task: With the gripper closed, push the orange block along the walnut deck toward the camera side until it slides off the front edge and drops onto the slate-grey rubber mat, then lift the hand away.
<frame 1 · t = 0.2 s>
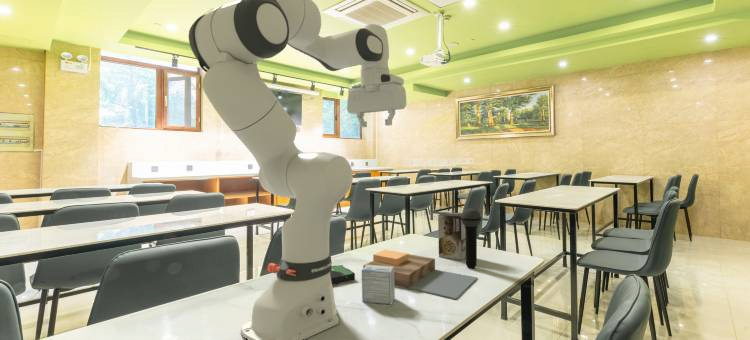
hand: (375, 126, 106), 47 cm above the table, tool pointing down, fingers open, 8 cm apart
disk drive: (326, 281, 106), on the table
mat: (444, 283, 101), on the table
orange block: (390, 260, 111), point 4 cm above the table, touching deck
microphone: (471, 268, 115), on the table
medicine box: (378, 301, 90), on the table
coffee box: (452, 257, 128), on the table
deck: (400, 274, 109), on the table
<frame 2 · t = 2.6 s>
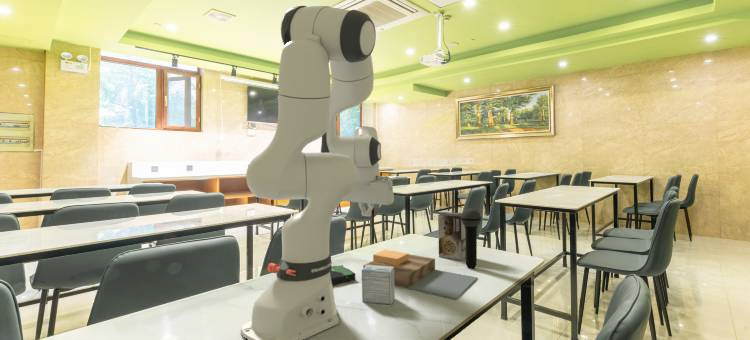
hand: (366, 216, 116), 18 cm above the table, tool pointing down, fingers closed
nothing on the table moved.
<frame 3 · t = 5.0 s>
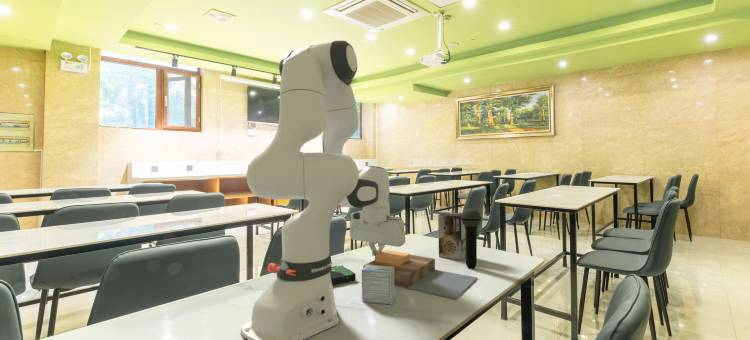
hand: (377, 255, 114), 5 cm above the table, tool pointing down, fingers closed
orange block: (392, 260, 111), point 4 cm above the table, touching gripper
everything else where it was.
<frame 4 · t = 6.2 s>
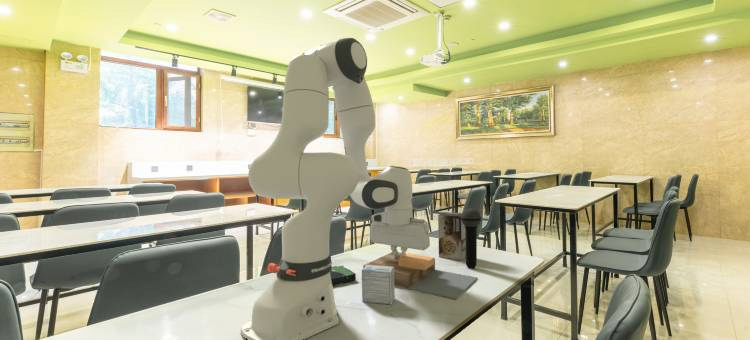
hand: (399, 259, 109), 5 cm above the table, tool pointing down, fingers closed
orange block: (416, 264, 106), point 4 cm above the table
everything else where it was.
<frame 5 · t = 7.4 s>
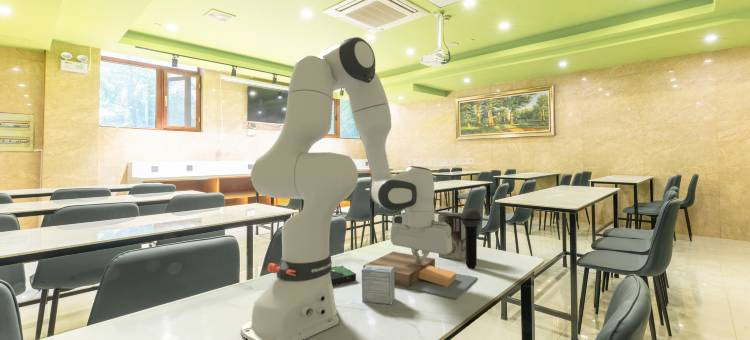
hand: (420, 263, 105), 5 cm above the table, tool pointing down, fingers closed
orange block: (437, 278, 103), point 1 cm above the table, tilted 6°
everything else where it was.
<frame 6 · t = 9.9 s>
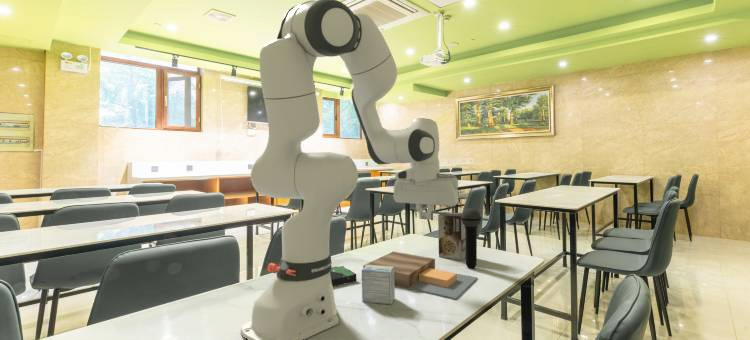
hand: (424, 219, 103), 19 cm above the table, tool pointing down, fingers closed
orange block: (437, 280, 102), resting on mat
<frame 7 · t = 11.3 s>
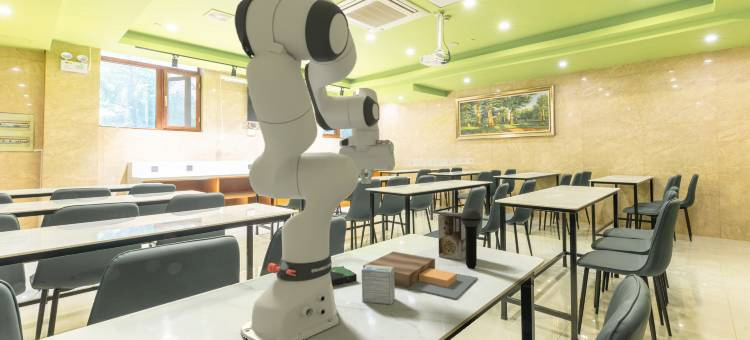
hand: (366, 183, 110), 29 cm above the table, tool pointing down, fingers closed
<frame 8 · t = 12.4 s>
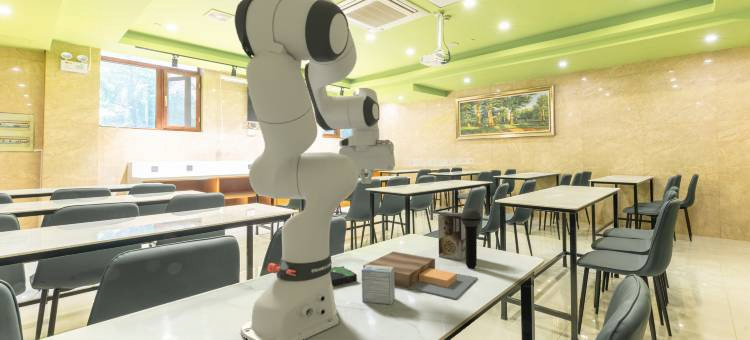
hand: (366, 183, 110), 29 cm above the table, tool pointing down, fingers closed
at the end: orange block inside the target area on the mat (2.2 cm from its centre), point 0.4 cm above the mat's base; orange block resting on mat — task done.
